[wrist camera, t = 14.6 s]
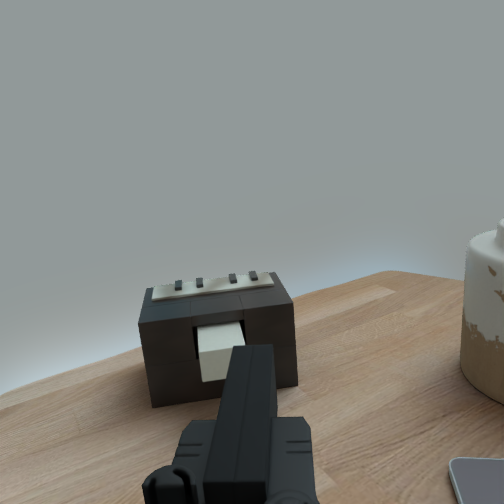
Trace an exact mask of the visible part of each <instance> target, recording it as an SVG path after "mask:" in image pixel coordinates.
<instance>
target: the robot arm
mask: <svg viewBox="0 0 504 504" xmlns="http://www.w3.org/2000/svg"><path fill="white" fill-rule="evenodd" d="M277 408H278V405H277V393H276V380H275V367H274V354H273V344H264V345H238V346H233V349H232V353H231V358H230V362H229V367H228V371H227V375H226V380H225V384H224V389H223V393H222V398H221V402H220V406H219V411H218V415H217V420H192V421H191V422H190V424H189V425H188V426H187V427H186V428H185V429H184V430H183V431H182V434H181V437H180V440H179V444H178V447H177V450H176V453H175V457H174V459H173V462H172V465H168V466H164V467H161V468H159V469H157V470H155V471H154V472H152V473H151V474H150V475H149V476H148V477H147V478H146V479H145V481H144V483H143V484H142V489H143V495H144V500H145V504H320V503H319V502H318V500H317V497H316V492H315V479H314V467H313V454H312V442H311V429H310V426H309V425H308V423H307V422H306V421H305V419H304V418H303V417H277Z"/></svg>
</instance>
